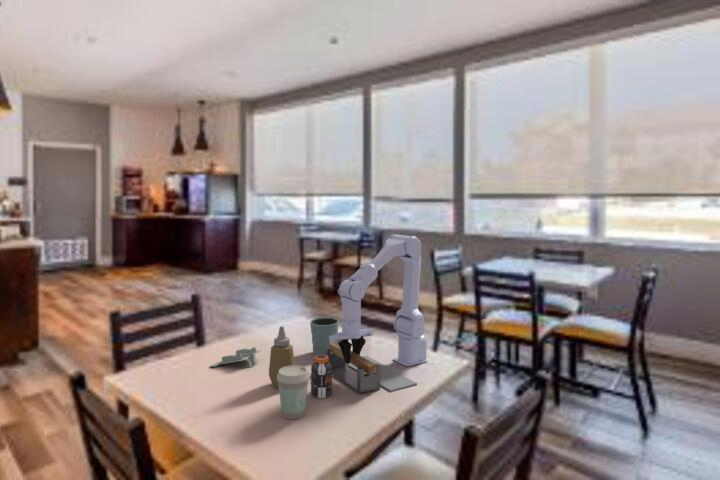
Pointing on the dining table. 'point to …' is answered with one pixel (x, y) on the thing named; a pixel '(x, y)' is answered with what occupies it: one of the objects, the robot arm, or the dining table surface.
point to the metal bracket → (240, 357)
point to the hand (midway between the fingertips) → (351, 361)
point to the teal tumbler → (322, 333)
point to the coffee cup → (293, 390)
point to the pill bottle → (321, 377)
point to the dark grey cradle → (354, 375)
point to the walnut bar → (354, 359)
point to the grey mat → (389, 377)
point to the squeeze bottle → (280, 356)
